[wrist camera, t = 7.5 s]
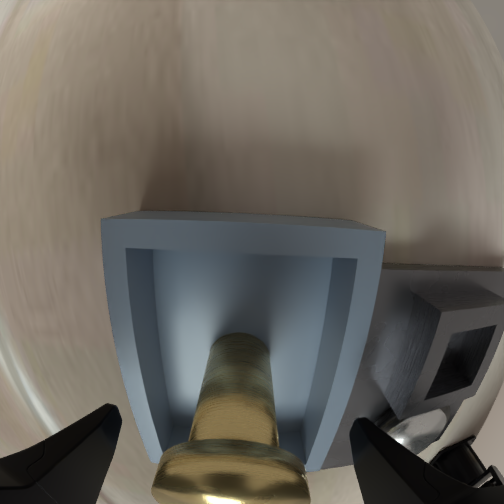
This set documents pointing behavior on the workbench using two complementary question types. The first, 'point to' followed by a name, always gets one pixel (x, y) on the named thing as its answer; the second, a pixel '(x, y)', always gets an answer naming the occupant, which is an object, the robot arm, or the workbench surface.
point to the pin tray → (240, 314)
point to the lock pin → (233, 437)
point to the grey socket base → (423, 352)
